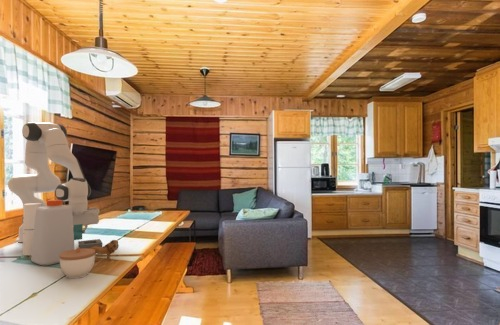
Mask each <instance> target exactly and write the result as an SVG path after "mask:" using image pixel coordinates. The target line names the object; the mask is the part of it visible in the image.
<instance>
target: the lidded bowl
mask: <svg viewBox="0 0 500 325" xmlns="http://www.w3.org/2000/svg"><path fill="white" fill-rule="evenodd" d="M95 257H96V254H95V250H94V249H88V248H84V249H80V247H76V248H75V249H74V250H69V251H65V252H63V253H61V254H60V255H59V258H60V263H59V267H60V270H61V272H62V273H63V275H65V277H67V278H68V279H78V278H79V279H80V278H83V277H86V276H87V275H88V273H89V272H91V270H93V267H94V264H95V262H94V261H95Z"/></svg>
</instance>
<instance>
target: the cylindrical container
mask: <svg viewBox="0 0 500 325" xmlns="http://www.w3.org/2000/svg"><path fill="white" fill-rule="evenodd" d="M38 207H41V203H28V204H24V211H23V216H22V219H23V223H22V224H23V242H22V256H24V255H31V256H32V246H33V236H34V226H35V216H36V209H37V208H38Z"/></svg>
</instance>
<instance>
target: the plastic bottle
mask: <svg viewBox="0 0 500 325" xmlns="http://www.w3.org/2000/svg"><path fill="white" fill-rule="evenodd" d="M74 249H76V248H75V240H74V232H73V216H72V208H71V207H70V206H67V204H65V205H64V204H63V201H62V200H58V199H50V200H49V199H48V200H47V201H46V206H42V207H38V208H37V209H36V216H35V226H34V236H33V246H32V255H31V256H30V257H31V258H30V260H31V262H32V263H34V264H37V265H38V266H52V265H56V264H60V258H59V255H60V254H61V253H63V252H65V251H69V250H74Z"/></svg>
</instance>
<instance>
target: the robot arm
mask: <svg viewBox="0 0 500 325" xmlns="http://www.w3.org/2000/svg"><path fill="white" fill-rule="evenodd" d="M21 131H22V132H21V133H22V136H23V138H24V139H25V140H26V144H25V152H24V154H25V157H24V164H25V166H26V167H27V168H28V169H31V170H35V171H36V174H18V175H13V176H11V177H10V178H9V179H8V181H7V182H8V184H7V186H8V189H9V191H10V192H11V193H12V194H15V196H17V197H18V198H19V199H20V201H21V203H22V209H23V210H22V211H23V212H24V204H28V203H41V207H42V206H47V202H46V201H45V200H43V199H42V198H38V197H36V196H35V194H38V193H40V194H42V193H52V192H54V193H55V194H54V195H55V197H56V200H62V202H68V205H67V204H66V206H70V207H71V208H72V216H73V226H74V225H79V224H82V226H84V228H83V229H82V234H85V233H86V229H87V228H88V226H89V225H98V224H99V222H100V217H99V214H100V208H99V207H97V206H93V207H92V206H90V207H88V204H89V203H88V202H89V200H88V198H89V197H90V195H91V193H92V189H91V186H90V184H89V182H88V181H87V179H86V176H85V174H84V171H83V169H82V166H81V163H80V161H79V159H78V158H77V157H76V156H75V155H74V153H72V151H71V149H70V147H69V141H68V139H67V136H68V132H67V128H66V127H65V126H64V125H63V124H59V123H53V122H52V123H51V122H34V121H32V122H30V121H29V122H26V123H24V125H23V126H22V130H21ZM49 161H50V162H53V163H54V164H57V165H60V166H63V167H65V168H66V169H68V170H69V172H70V173H71V175H72V178H70V179H69V181H66V182H64V183H61V178H60V177H59V176H58V175H56V174H55V173H54V172H53V171H52V170H51V168H50V165H49ZM21 220H22V222H21V223H22V224H21V225H20V226H19V228H18V237H17V238H16V239H14V243H19V242H20V243H23V218H22V219H21ZM73 232H74V231H73Z"/></svg>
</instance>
